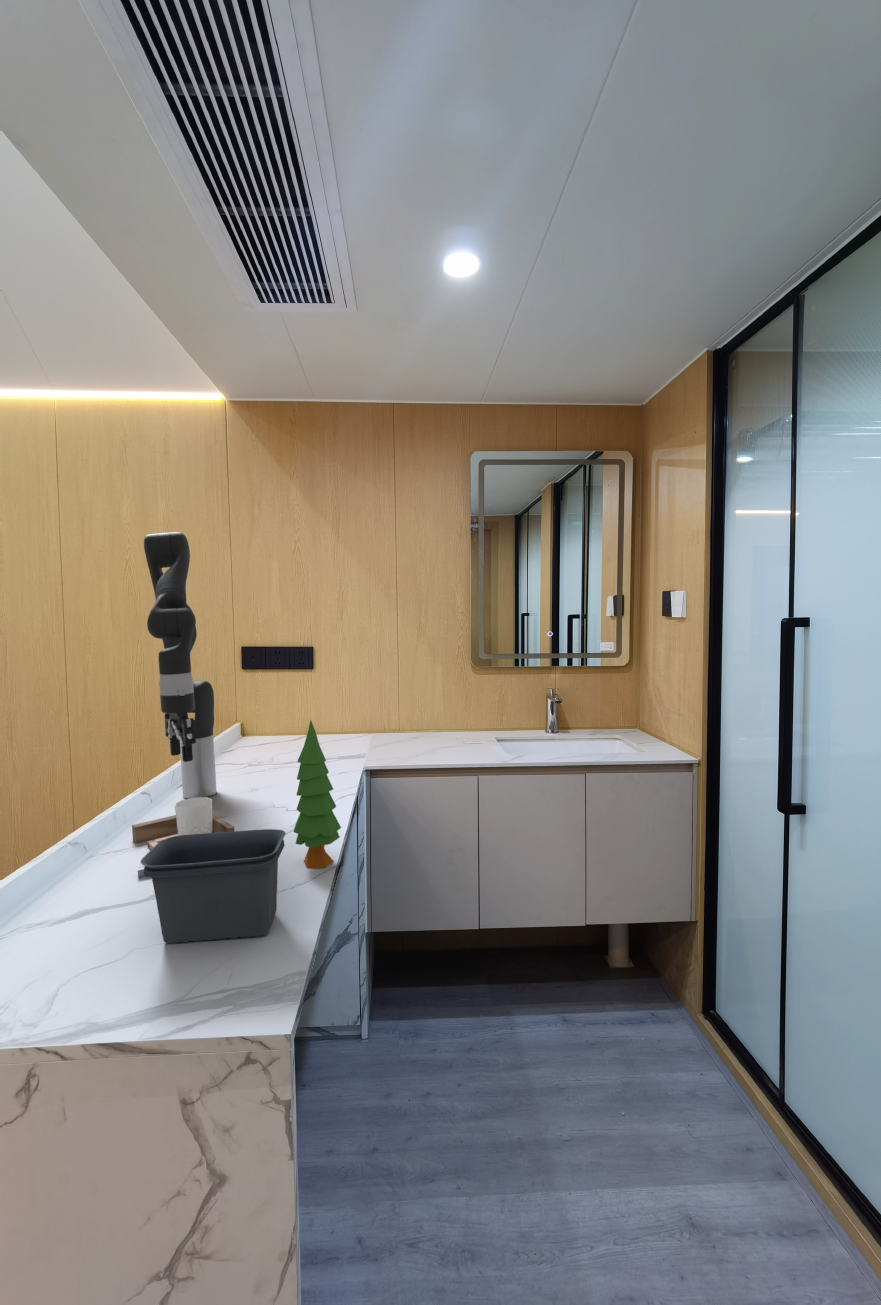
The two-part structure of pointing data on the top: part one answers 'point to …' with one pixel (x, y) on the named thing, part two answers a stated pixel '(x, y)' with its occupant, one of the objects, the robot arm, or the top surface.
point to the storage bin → (215, 884)
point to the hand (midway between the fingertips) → (181, 758)
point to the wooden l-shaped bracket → (171, 828)
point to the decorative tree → (315, 804)
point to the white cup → (194, 816)
